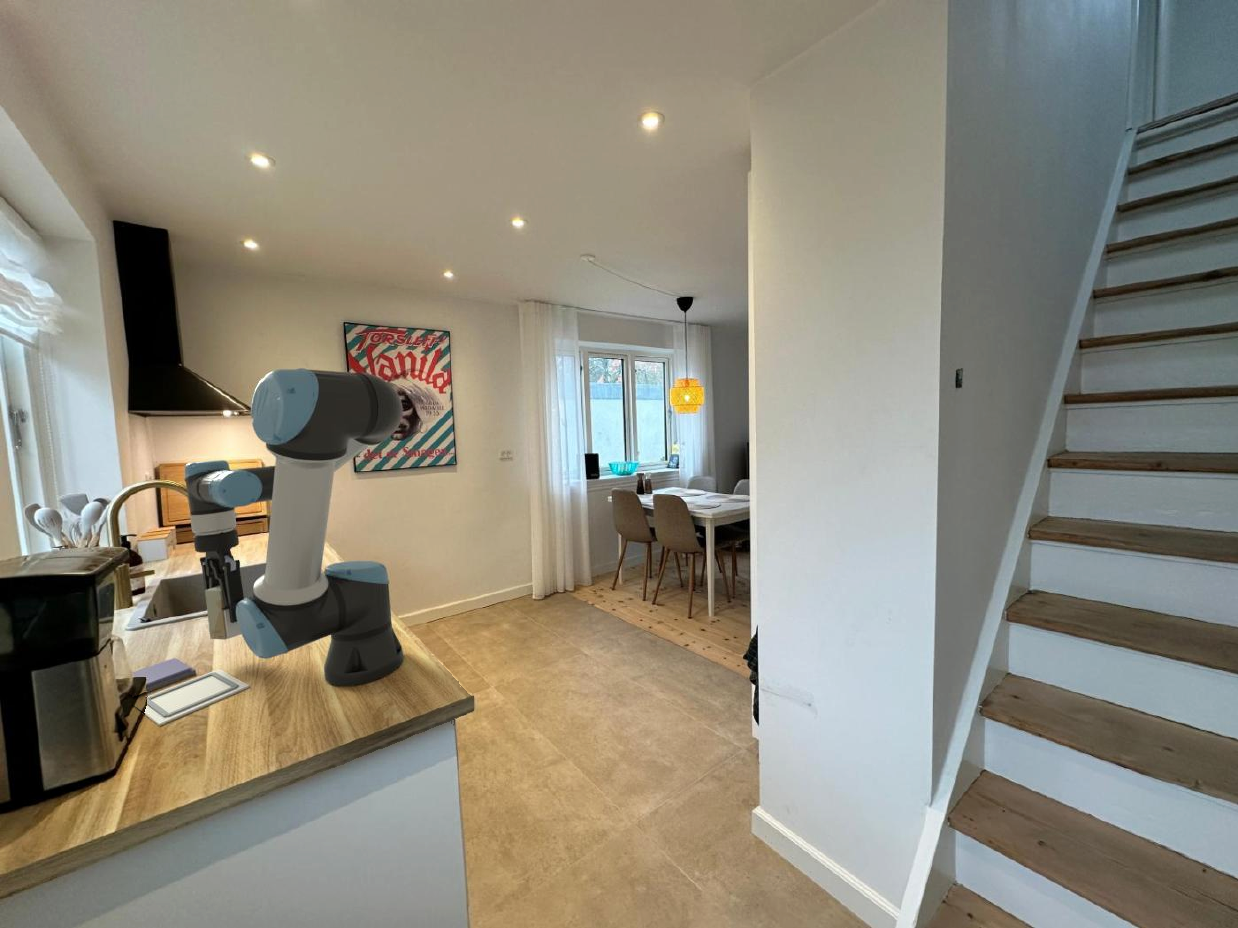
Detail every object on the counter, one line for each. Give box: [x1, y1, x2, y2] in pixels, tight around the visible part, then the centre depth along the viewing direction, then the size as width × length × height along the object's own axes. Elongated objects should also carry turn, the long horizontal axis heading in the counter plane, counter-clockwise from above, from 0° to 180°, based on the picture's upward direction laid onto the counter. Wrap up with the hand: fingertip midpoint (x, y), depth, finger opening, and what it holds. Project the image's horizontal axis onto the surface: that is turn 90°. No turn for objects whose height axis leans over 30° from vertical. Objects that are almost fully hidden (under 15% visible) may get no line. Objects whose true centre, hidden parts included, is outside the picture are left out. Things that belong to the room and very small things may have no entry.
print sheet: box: [144, 668, 250, 727], centre depth 97 cm, size 14×14×1 cm
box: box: [204, 586, 229, 640], centre depth 109 cm, size 5×4×11 cm
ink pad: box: [131, 657, 197, 693], centre depth 104 cm, size 10×10×2 cm
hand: (229, 633), depth 109 cm, fingers closed on box, 5 cm apart
